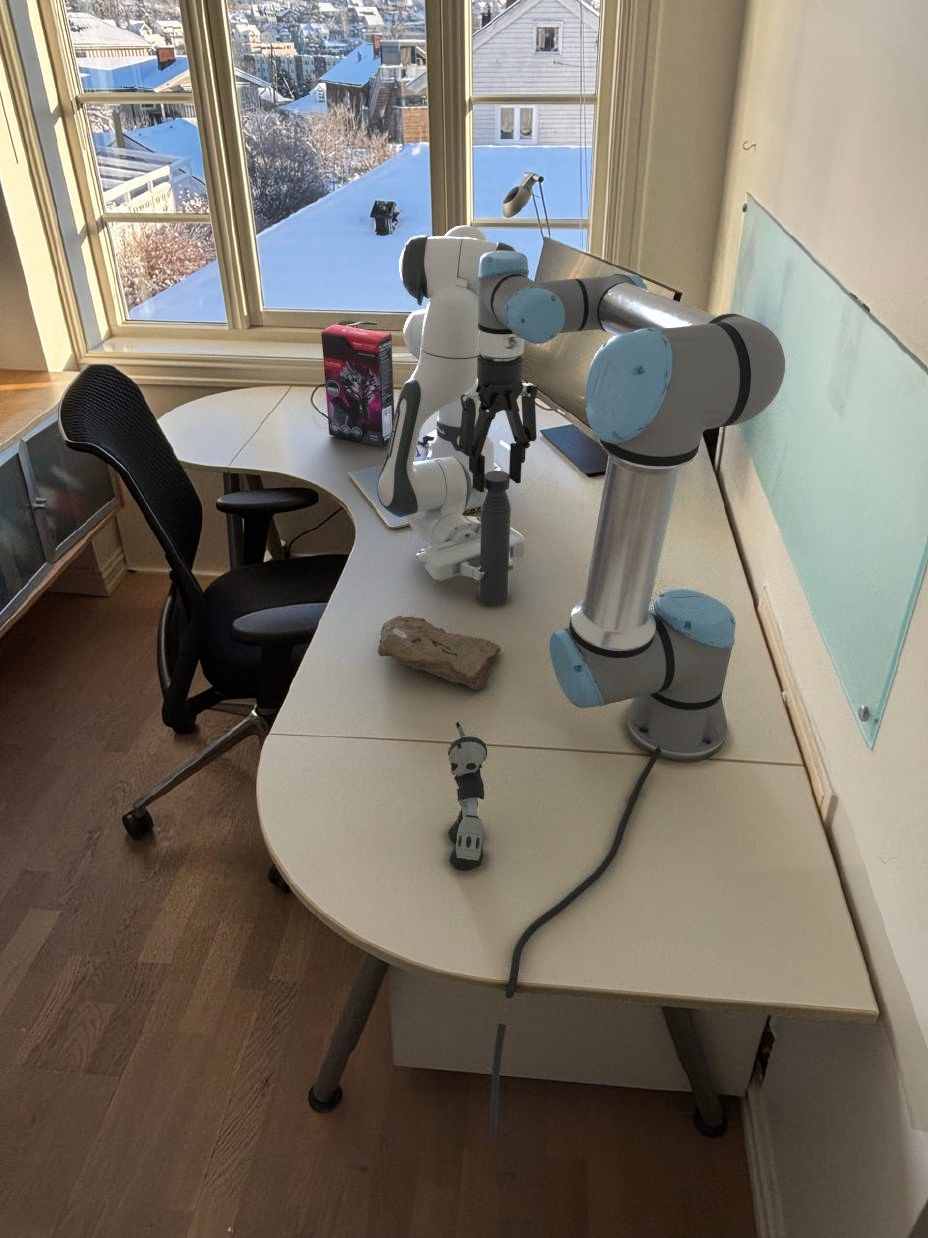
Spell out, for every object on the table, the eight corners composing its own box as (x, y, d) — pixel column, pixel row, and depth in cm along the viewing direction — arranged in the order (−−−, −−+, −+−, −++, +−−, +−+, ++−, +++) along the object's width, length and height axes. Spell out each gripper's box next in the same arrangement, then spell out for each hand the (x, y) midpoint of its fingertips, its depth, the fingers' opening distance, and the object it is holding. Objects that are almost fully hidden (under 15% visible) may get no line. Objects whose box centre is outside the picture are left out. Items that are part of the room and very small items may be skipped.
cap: (499, 494, 159) (500, 483, 157) (478, 487, 161) (479, 476, 160) (514, 485, 161) (514, 475, 160) (493, 478, 164) (494, 468, 163)
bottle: (509, 593, 176) (514, 474, 162) (504, 608, 172) (508, 487, 158) (482, 590, 177) (485, 471, 163) (476, 604, 173) (479, 484, 159)
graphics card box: (326, 436, 238) (318, 330, 223) (342, 427, 243) (334, 322, 228) (383, 449, 231) (378, 340, 216) (397, 439, 237) (393, 333, 221)
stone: (354, 663, 151) (360, 631, 149) (385, 632, 165) (392, 602, 162) (474, 706, 148) (483, 673, 145) (496, 671, 161) (504, 640, 159)
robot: (489, 905, 115) (493, 789, 104) (450, 907, 115) (450, 790, 104) (479, 793, 131) (482, 682, 120) (445, 794, 131) (445, 683, 120)
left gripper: (411, 539, 173) (448, 571, 164) (502, 513, 182) (542, 543, 173) (412, 567, 177) (448, 601, 167) (501, 541, 186) (540, 571, 176)
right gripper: (458, 370, 141) (457, 505, 154) (564, 351, 149) (555, 481, 162) (435, 356, 147) (436, 488, 160) (539, 339, 155) (532, 465, 168)
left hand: (497, 571), depth 170 cm, fingers closed on bottle, 5 cm apart
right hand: (496, 484), depth 161 cm, fingers open, 7 cm apart
